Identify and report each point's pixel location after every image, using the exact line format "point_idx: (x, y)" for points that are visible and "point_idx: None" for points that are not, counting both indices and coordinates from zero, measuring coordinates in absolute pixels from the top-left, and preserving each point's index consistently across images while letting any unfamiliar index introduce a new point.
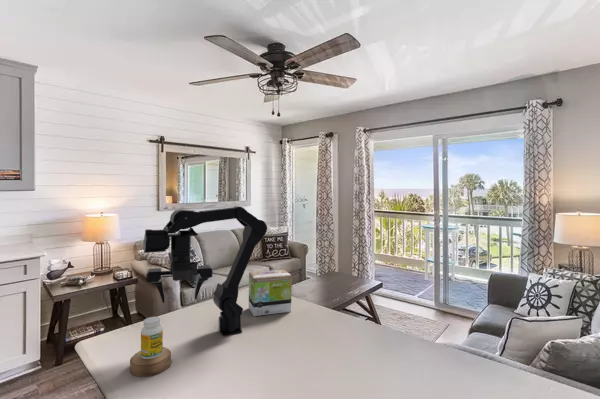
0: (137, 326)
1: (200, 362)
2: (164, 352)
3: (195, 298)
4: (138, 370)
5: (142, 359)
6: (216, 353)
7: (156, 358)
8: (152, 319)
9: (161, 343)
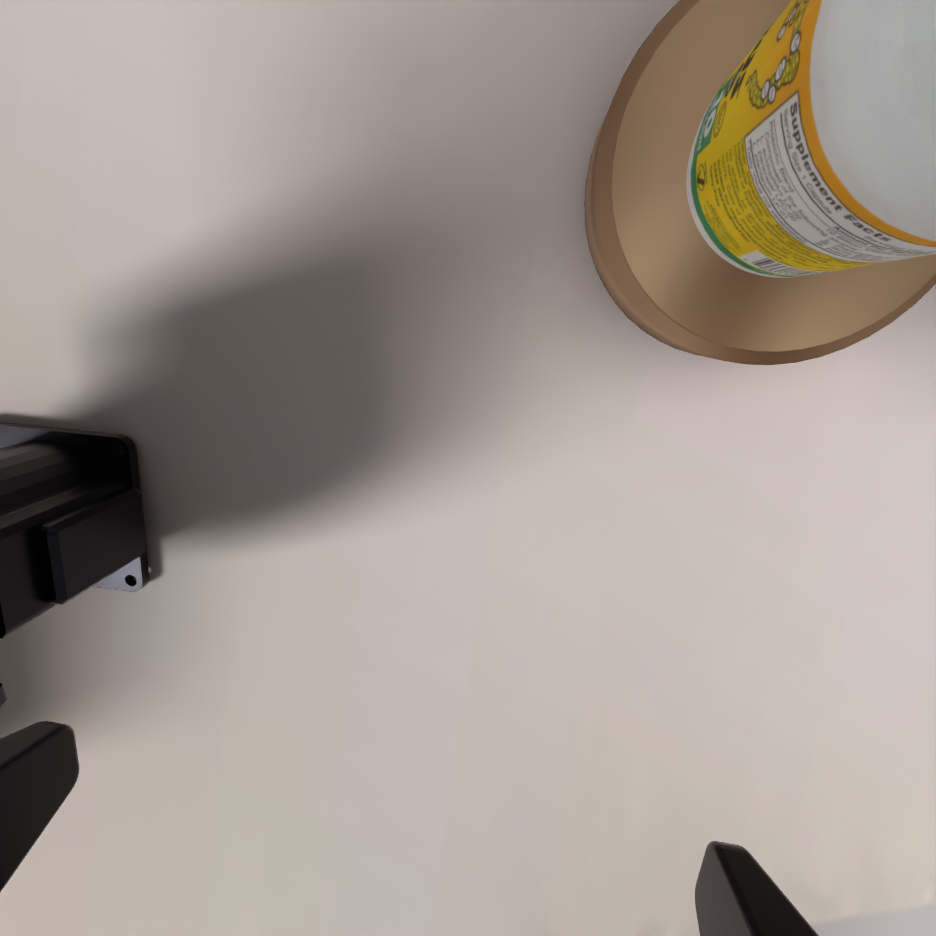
0: None
1: (359, 41)
2: (665, 157)
3: (36, 735)
4: None
5: None
6: (213, 146)
7: None
8: None
9: (758, 41)
